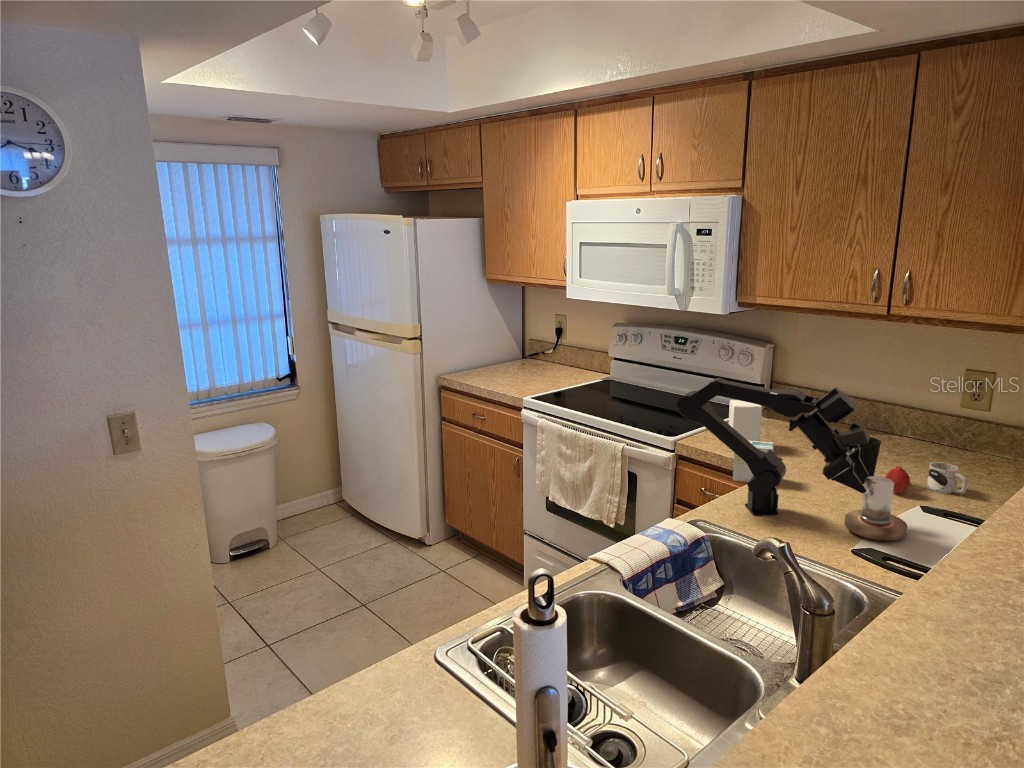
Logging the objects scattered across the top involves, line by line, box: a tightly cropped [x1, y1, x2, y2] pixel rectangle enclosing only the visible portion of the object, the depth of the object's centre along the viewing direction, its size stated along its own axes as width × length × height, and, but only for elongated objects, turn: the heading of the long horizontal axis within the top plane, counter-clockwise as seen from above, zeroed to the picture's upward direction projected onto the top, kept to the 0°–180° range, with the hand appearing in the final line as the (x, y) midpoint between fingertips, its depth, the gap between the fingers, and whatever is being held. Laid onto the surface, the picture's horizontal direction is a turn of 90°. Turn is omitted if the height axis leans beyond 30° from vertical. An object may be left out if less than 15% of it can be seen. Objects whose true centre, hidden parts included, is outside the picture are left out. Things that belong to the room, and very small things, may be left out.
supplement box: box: [728, 399, 763, 442], centre depth 221 cm, size 9×9×15 cm
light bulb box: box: [732, 440, 775, 483], centre depth 193 cm, size 11×7×11 cm, turn 68°
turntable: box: [844, 509, 908, 541], centre depth 159 cm, size 13×13×3 cm
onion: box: [884, 464, 911, 494], centre depth 180 cm, size 6×6×8 cm
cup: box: [854, 436, 882, 485], centre depth 190 cm, size 8×8×12 cm
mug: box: [926, 461, 968, 495], centre depth 181 cm, size 10×7×7 cm, turn 21°
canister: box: [860, 475, 894, 527], centre depth 157 cm, size 6×6×10 cm
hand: (866, 485), depth 158 cm, fingers open, 9 cm apart
